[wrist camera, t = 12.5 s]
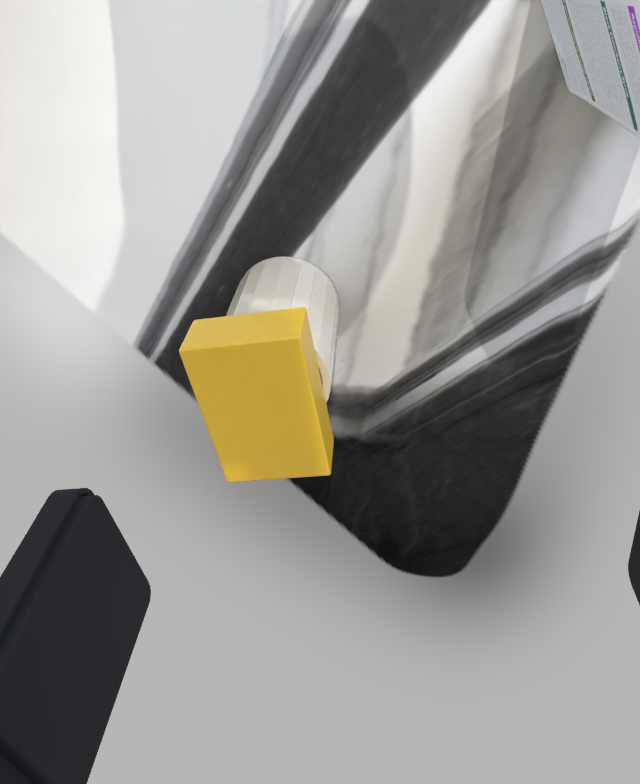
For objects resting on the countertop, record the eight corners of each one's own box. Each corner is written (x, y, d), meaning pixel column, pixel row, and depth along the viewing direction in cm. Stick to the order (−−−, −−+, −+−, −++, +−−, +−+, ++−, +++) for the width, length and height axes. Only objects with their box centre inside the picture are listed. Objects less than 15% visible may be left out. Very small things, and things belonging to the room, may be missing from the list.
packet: (193, 319, 30) (177, 350, 28) (306, 306, 30) (299, 337, 27) (237, 447, 36) (227, 483, 33) (334, 439, 35) (331, 475, 32)
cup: (224, 263, 38) (189, 334, 31) (329, 249, 37) (319, 320, 30) (250, 352, 42) (224, 434, 35) (345, 342, 41) (339, 424, 34)
